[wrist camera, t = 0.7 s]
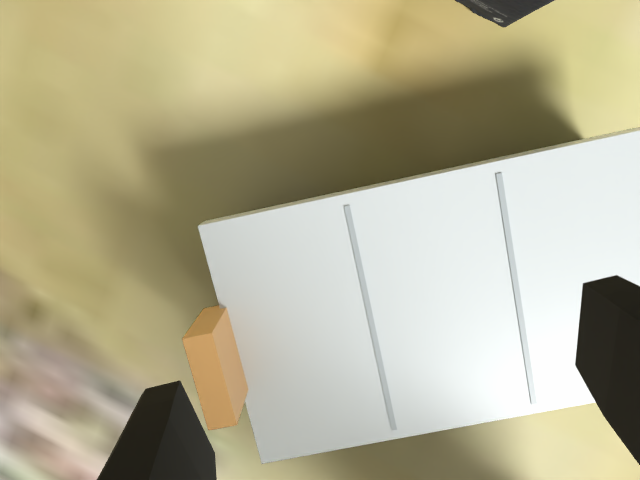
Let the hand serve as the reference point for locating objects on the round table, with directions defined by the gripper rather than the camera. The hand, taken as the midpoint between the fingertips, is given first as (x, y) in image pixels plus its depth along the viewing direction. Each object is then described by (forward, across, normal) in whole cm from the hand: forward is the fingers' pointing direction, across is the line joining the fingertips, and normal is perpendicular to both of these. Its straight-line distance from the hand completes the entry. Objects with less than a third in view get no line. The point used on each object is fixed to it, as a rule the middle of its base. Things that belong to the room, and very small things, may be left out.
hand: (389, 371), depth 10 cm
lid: (+12, -4, +9) cm, 16 cm away
